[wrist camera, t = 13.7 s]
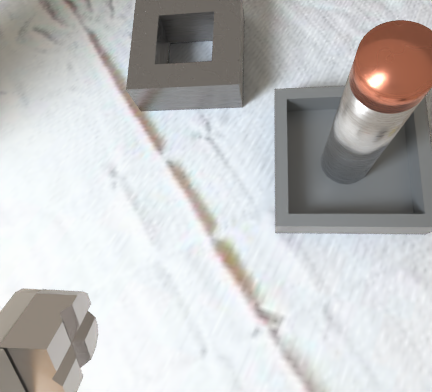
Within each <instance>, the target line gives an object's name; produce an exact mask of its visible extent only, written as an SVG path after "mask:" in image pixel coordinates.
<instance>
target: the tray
mask: <svg viewBox="0 0 432 392" xmlns="http://www.w3.org/2000/svg"><path fill="white" fill-rule="evenodd" d="M344 88H345V86H330V87H308V88H286V89H275V233H340V234H427V233H430V232H432V148H431V140H430V132H429V123H428V115H427V107H426V99H425V97H424V98H423V99H422V101H421V102H420V103H419V105H418V106H417V107H416V109H415V110H414V111H413V113H412V114H411V115H410V117H409V118H408V119H407V121H406V122H405V123H404V125H403V126H402V127H401V129H400V130H399V131H398V133H397V134H396V135H395V137H394V138H393V139H392V141H391V142H390V143H389V145H388V146H387V147H386V149H385V150H384V151H383V153H382V154H381V155H380V157H379V158H378V159H377V161H376V162H375V163H374V165H373V166H372V167H371V168H370V170H369V171H368V172H367V174H366V175H365V176H364V177H363V178H362V179H361V180H359V181H358V182H355V183H352V184H340V183H337V182H335V181H333V180H331V179H330V178H329V177H327V175H326V174H325V173H324V171H323V169H322V166H321V157H322V154H323V151H324V148H325V145H326V142H327V139H328V136H329V133H330V130H331V127H332V124H333V121H334V118H335V115H336V112H337V109H338V106H339V103H340V100H341V97H342V94H343V91H344Z"/></svg>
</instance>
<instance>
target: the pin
mask: <svg viewBox="0 0 432 392" xmlns="http://www.w3.org/2000/svg"><path fill="white" fill-rule="evenodd" d="M431 88H432V30H430V29H429V28H427V27H425V26H424V25H421V24H419V23H416V22H412V21H404V20H397V21H390V22H386V23H383V24H380V25H378V26H376V27H375V28H373V29H372V30H370V31H369V32H368V33H367V34H366V35H365V36H364V37H363V39H362V40H361V42H360V44H359V47H358V50H357V53H356V56H355V59H354V62H353V65H352V68H351V71H350V74H349V76H348V79H347V82H346V85H345V88H344V91H343V94H342V97H341V100H340V103H339V106H338V109H337V112H336V115H335V118H334V121H333V124H332V127H331V130H330V133H329V136H328V139H327V142H326V145H325V148H324V151H323V154H322V157H321V166H322V169H323V171H324V173H325V174H326V175H327V177H329V178H330V179H331V180H333V181H335V182H337V183H340V184H352V183H355V182H358V181H359V180H361V179H362V178H363V177H364V176H365V175H366V174H367V172H368V171H369V170H370V168H371V167H372V166H373V165H374V163H375V162H376V161H377V159H378V158H379V157H380V155H381V154H382V153H383V151H384V150H385V149H386V147H387V146H388V145H389V143H390V142H391V141H392V139H393V138H394V137H395V135H396V134H397V133H398V131H399V130H400V129H401V127H402V126H403V125H404V123H405V122H406V121H407V119H408V118H409V117H410V115H411V114H412V113H413V111H414V110H415V109H416V107H417V106H418V105H419V103H420V102H421V101H422V99H423V98H424V97H425V95H426V94H427V93H428V92H429V90H430V89H431Z"/></svg>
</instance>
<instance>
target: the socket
mask: <svg viewBox="0 0 432 392" xmlns="http://www.w3.org/2000/svg"><path fill="white" fill-rule="evenodd" d="M198 41H213V50H212V61H207V62H189V63H172V64H168V60H169V47H170V43H183V42H198ZM243 50H244V13H243V3H242V0H136V3H135V13H134V22H133V31H132V41H131V50H130V59H129V69H128V78H127V87H126V90H127V91H128V93H129V94H130V96H131V97H132V99H133V100H134V102H135V103H136V105H137V106H138V107H139V109H140V110H141V111H158V110H184V109H210V108H236V107H243Z"/></svg>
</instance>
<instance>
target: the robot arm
mask: <svg viewBox="0 0 432 392" xmlns="http://www.w3.org/2000/svg"><path fill="white" fill-rule="evenodd" d="M90 305H91V302H90V299H89V296H88V294H87V293H85V292H81V291H64V290H46V289H42V290H39V289H21V290H19V291H17V292H15V293H14V295H13V296H12V297H11V299H10V300H9V301H8V303H7V304H6V305H5V306H4V308H3V309H2V310H1V312H0V392H77V390H78V388H79V386H80V383H81V381H82V379H83V374H82V371H81V367H82V366H83V365H84V364H86V363H87V362H88V361H89V360H91V358H92V356H93V353H94V351H95V348H96V344H97V338H98V325H97V321H96V318H95V317H94V316H93V315H92V314H91V313H90V312H88V309H89V307H90Z"/></svg>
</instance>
